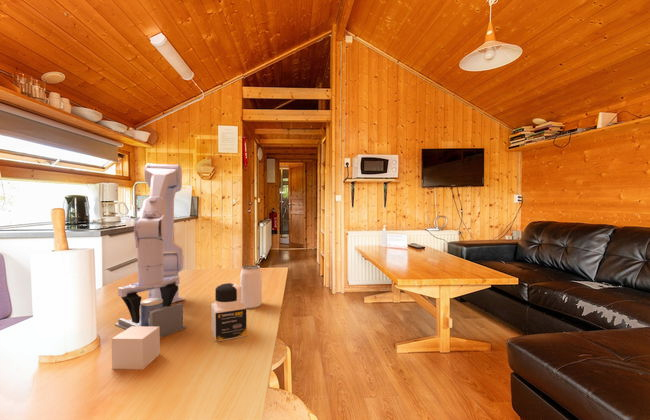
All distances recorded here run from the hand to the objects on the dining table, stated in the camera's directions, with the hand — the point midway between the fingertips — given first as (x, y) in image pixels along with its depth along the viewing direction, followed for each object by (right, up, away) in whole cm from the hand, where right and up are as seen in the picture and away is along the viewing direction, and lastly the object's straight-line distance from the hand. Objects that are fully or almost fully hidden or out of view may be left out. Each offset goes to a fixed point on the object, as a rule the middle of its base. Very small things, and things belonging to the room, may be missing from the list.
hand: (151, 317), depth 81 cm
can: (+22, -2, +17) cm, 28 cm away
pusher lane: (0, -2, 0) cm, 2 cm away
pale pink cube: (+7, -3, -17) cm, 19 cm away
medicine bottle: (+21, -3, -4) cm, 22 cm away
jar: (0, -2, 0) cm, 2 cm away
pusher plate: (+3, -2, -2) cm, 4 cm away
